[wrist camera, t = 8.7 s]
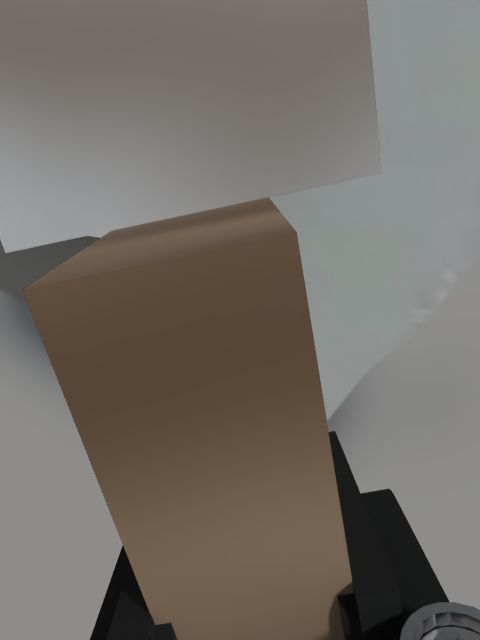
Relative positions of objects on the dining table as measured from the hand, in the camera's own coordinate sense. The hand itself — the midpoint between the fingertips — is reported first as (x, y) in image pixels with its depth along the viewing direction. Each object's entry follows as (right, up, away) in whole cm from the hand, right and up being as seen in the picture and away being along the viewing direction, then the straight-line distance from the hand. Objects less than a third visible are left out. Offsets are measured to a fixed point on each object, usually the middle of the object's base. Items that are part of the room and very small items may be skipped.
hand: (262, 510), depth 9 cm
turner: (0, +2, 0) cm, 2 cm away
